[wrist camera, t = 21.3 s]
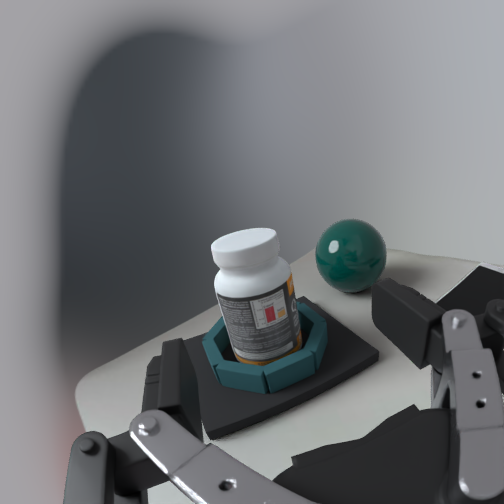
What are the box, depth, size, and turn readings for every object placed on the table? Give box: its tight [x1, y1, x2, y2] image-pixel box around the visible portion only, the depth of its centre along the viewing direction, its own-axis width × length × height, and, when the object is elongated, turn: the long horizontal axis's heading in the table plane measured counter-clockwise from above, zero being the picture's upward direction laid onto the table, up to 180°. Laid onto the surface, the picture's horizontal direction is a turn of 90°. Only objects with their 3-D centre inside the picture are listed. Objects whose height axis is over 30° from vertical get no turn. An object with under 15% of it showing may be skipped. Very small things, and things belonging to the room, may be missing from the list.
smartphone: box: [434, 262, 504, 316], centre depth 23 cm, size 8×1×15 cm
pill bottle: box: [211, 228, 302, 366], centre depth 22 cm, size 6×6×10 cm
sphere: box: [315, 219, 387, 292], centre depth 31 cm, size 8×8×8 cm
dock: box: [184, 296, 379, 440], centre depth 24 cm, size 14×12×3 cm
